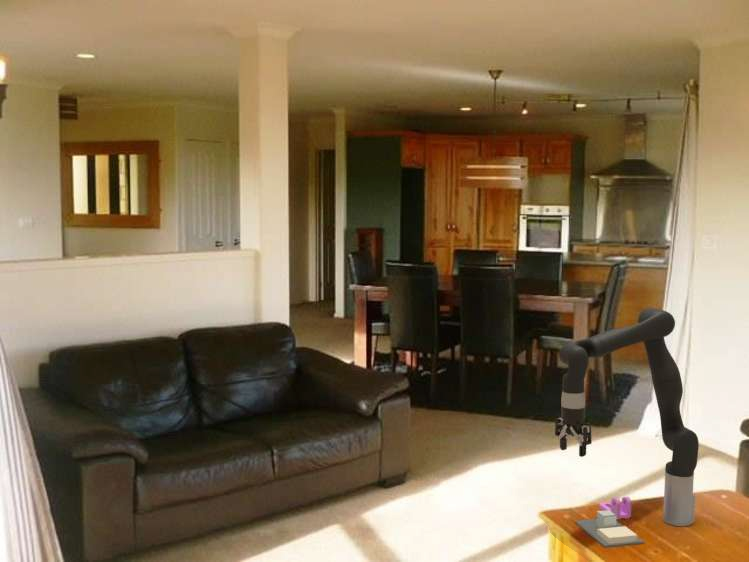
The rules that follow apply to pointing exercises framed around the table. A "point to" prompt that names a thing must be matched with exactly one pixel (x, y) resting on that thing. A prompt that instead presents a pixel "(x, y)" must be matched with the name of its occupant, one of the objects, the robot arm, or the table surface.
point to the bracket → (618, 507)
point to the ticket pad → (593, 533)
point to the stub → (606, 519)
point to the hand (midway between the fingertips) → (572, 452)
